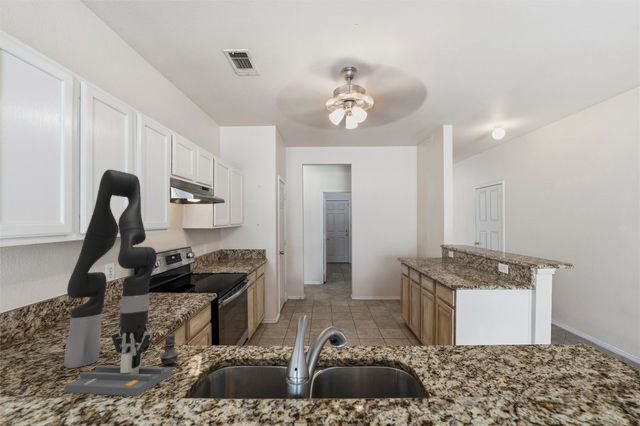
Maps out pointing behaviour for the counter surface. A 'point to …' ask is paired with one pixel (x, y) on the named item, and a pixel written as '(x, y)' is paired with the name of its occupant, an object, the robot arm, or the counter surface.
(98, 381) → the fader console
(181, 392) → the counter surface
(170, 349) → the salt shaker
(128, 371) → the fader tab
